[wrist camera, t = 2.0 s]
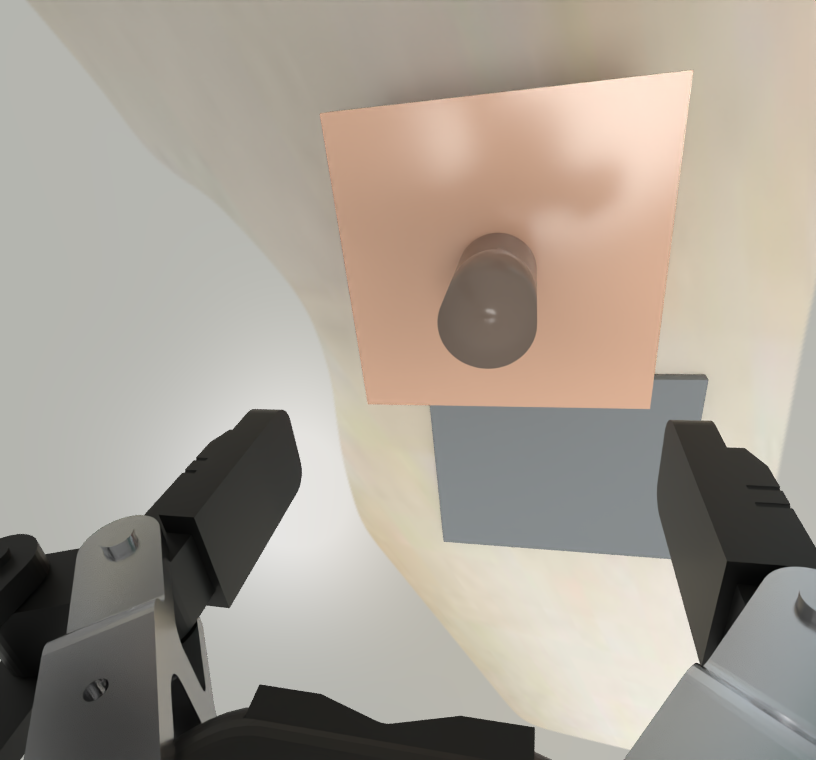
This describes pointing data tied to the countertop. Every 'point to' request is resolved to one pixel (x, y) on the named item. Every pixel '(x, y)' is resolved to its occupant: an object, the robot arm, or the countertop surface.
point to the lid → (511, 241)
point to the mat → (559, 472)
